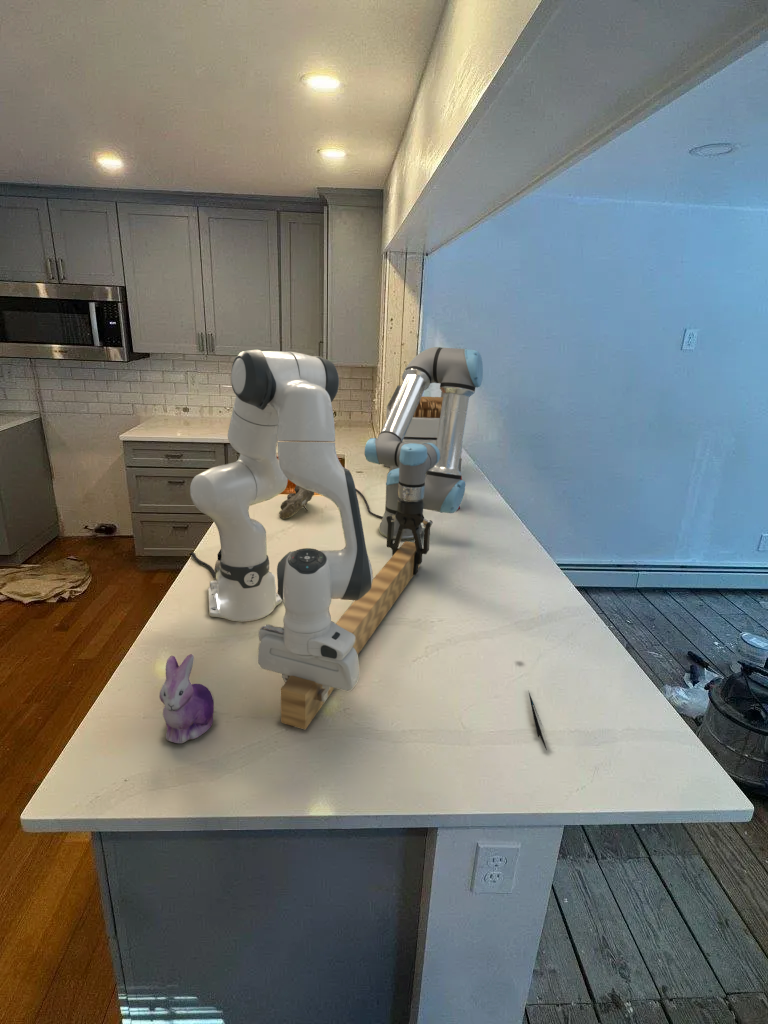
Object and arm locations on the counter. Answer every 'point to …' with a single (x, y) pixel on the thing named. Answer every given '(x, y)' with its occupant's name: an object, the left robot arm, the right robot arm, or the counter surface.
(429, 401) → the transformer
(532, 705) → the feather
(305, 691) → the bar
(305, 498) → the fossil
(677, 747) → the counter surface
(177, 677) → the figurine
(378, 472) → the counter surface
